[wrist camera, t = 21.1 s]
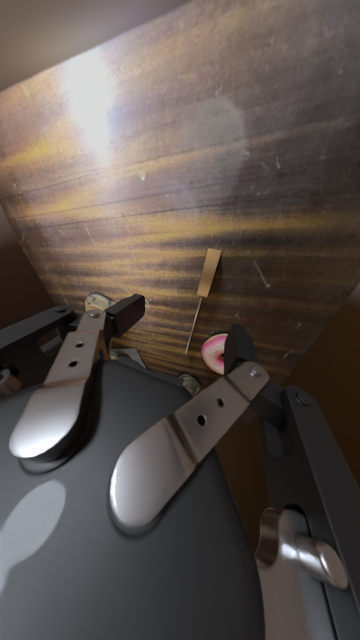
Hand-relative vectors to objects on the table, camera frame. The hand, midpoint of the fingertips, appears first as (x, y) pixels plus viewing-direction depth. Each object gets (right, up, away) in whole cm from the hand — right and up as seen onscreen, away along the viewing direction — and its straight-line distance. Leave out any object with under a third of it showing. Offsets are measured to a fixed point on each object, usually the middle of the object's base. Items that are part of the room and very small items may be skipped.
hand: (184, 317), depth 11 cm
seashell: (+2, -25, +40) cm, 47 cm away
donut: (+13, -8, +26) cm, 30 cm away
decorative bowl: (-26, +3, +33) cm, 43 cm away
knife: (+4, +2, +22) cm, 23 cm away
